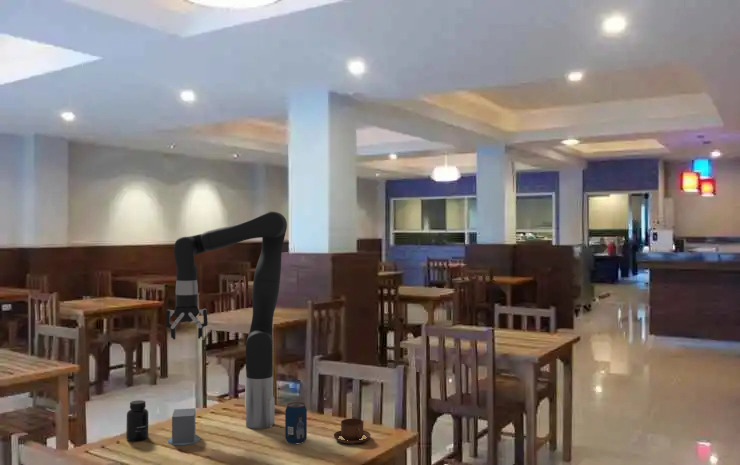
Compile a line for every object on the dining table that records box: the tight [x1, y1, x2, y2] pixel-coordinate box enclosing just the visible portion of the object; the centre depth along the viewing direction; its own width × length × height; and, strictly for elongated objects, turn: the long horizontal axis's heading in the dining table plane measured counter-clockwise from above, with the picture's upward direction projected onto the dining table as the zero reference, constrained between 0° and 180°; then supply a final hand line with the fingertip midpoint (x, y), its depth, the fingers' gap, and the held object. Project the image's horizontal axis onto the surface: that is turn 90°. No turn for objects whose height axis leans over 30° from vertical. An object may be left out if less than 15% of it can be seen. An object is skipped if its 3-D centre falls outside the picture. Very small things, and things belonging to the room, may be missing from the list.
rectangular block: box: [171, 407, 196, 445], centre depth 213 cm, size 7×9×9 cm
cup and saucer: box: [333, 418, 371, 444], centre depth 212 cm, size 12×12×6 cm
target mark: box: [167, 434, 201, 446], centre depth 212 cm, size 10×10×1 cm
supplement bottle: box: [125, 399, 149, 442], centre depth 213 cm, size 7×7×12 cm
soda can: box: [284, 401, 308, 445], centre depth 211 cm, size 7×7×12 cm
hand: (186, 338), depth 229 cm, fingers open, 8 cm apart
